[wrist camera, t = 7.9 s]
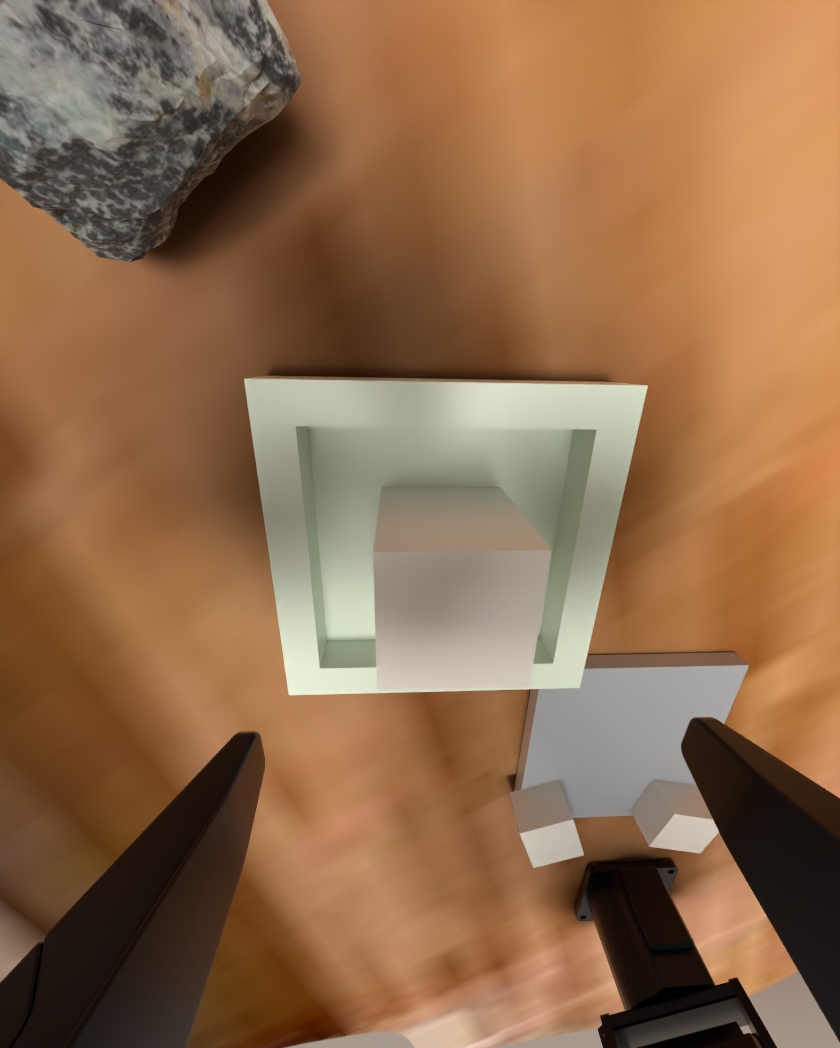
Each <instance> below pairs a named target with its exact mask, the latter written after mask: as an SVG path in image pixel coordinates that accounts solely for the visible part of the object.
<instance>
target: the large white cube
mask: <svg viewBox="0 0 840 1048" xmlns="http://www.w3.org/2000/svg"><path fill="white" fill-rule="evenodd" d="M550 557H551V550H550V548H549V547H548V546H547V544H546V543H545V542H544V541H543V539H542V538H541V537H540V536H539V534H538V533H537V532H536V531H535V529H534V528H533V527H532V526H531V524H530V523H529V522H528V521H527V519H526V518H525V517H524V516H523V514H522V513H521V512H520V511H519V509H518V508H517V507H516V506H515V504H514V503H513V502H512V501H511V499H510V498H509V497H508V496H507V494H506V493H505V492H504V491H503V489H502V488H501V487H381V494H380V502H379V509H378V517H377V524H376V532H375V539H374V547H373V573H374V605H375V637H376V669H377V691H387V690H427V689H466V688H506V687H530V681H531V675H532V669H533V662H534V656H535V650H536V644H537V637H538V631H539V625H540V619H541V613H542V606H543V600H544V594H545V588H546V581H547V575H548V569H549V563H550Z"/></svg>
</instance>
